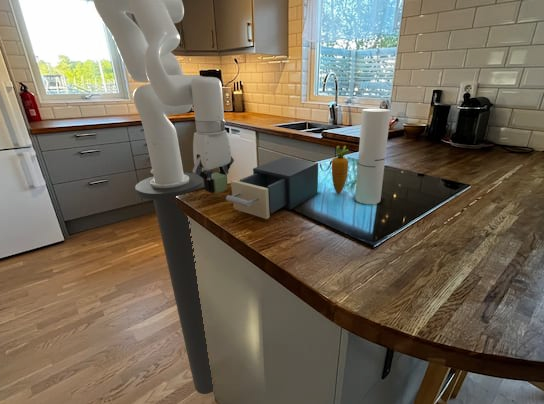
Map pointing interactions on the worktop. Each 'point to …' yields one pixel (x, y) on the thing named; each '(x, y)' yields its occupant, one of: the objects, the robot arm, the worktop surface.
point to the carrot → (339, 170)
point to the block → (219, 182)
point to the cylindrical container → (372, 155)
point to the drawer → (259, 194)
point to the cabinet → (294, 178)
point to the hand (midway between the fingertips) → (216, 188)
